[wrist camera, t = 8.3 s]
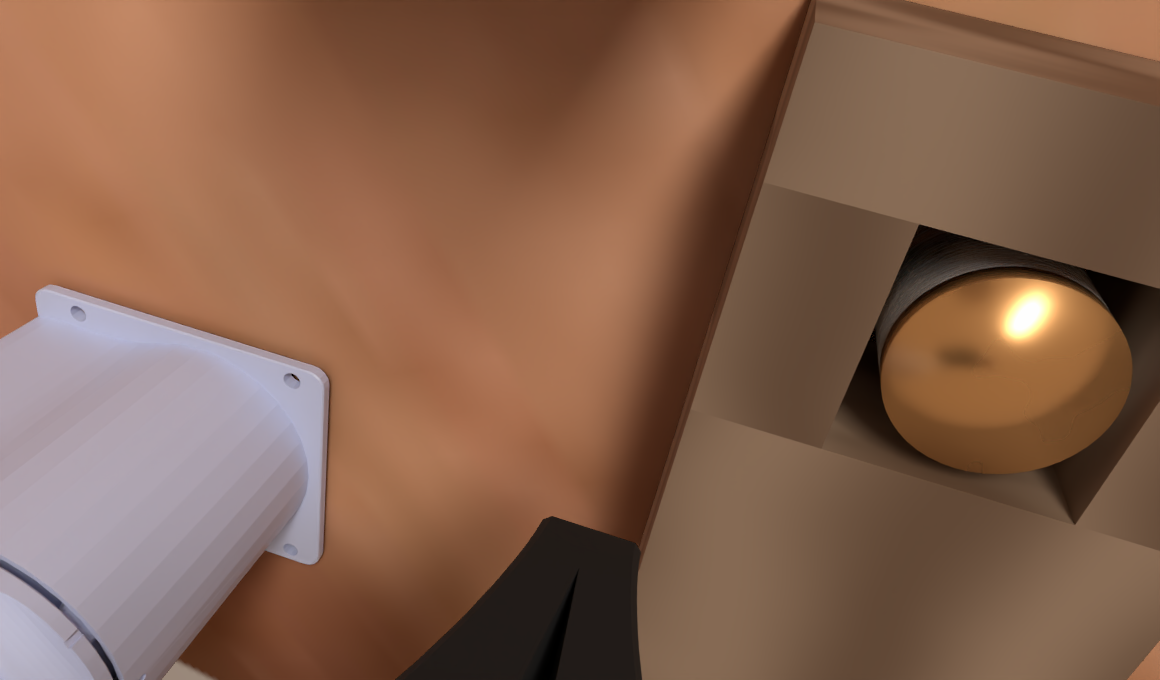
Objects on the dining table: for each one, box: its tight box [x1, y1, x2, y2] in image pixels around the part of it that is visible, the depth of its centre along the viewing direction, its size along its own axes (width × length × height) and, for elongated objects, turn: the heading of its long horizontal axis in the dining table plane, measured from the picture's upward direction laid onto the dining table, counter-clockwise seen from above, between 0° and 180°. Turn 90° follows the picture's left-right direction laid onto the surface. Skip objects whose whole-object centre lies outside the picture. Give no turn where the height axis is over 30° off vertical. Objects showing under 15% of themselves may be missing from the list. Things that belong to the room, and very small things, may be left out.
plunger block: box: [637, 0, 1160, 680], centre depth 21 cm, size 10×26×5 cm, turn 169°
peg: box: [875, 224, 1133, 474], centre depth 17 cm, size 4×4×4 cm
